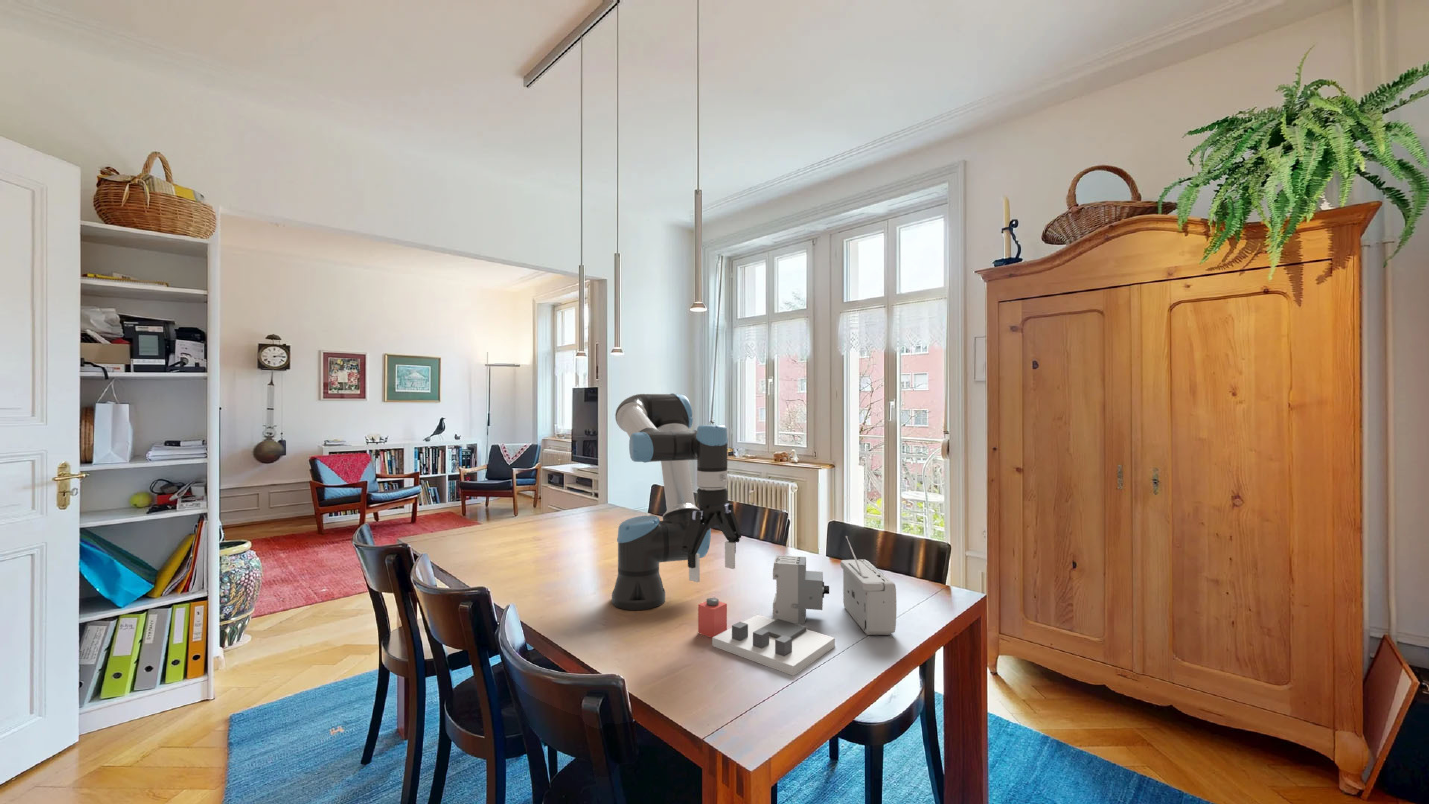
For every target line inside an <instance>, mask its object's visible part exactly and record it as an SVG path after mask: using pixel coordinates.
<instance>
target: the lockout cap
mask: <svg viewBox="0 0 1429 804" xmlns="http://www.w3.org/2000/svg"><path fill="white" fill-rule="evenodd" d="M697 608H698V609H697V611H698V613H697V615H698V616H697V620H698V621H697V624H698V625H697V626H698V627H697V629H698V631H697V633H698V632H699V633H698V634H700V633H701V635H703V636H706V635H707V636H706V637H708V636H709V638H712V637H714V636H716V635H718V634H720V633H722V632H724V631H726V630H728V617H727V616H728V604H727V603H726V602H722V601H720V600H719V598H716V597H709V598H707V599H706V600H705V601H703V602H701V603H699V604H698V605H697Z"/></svg>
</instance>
